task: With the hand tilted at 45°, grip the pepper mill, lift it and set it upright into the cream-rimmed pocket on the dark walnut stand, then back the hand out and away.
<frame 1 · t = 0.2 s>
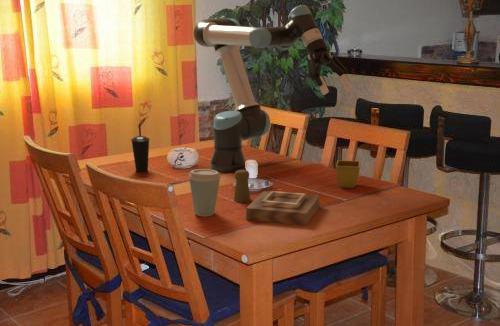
hand: (337, 92, 252), 36 cm above the table, tool tilted 35°, fingers open, 13 cm apart
pepper mill: (242, 200, 241), on the table
flower pot: (347, 186, 257), on the table
drinking cup: (141, 171, 282), on the table
walnut stand: (283, 213, 226), on the table
disposable coffee cup: (205, 214, 226), on the table
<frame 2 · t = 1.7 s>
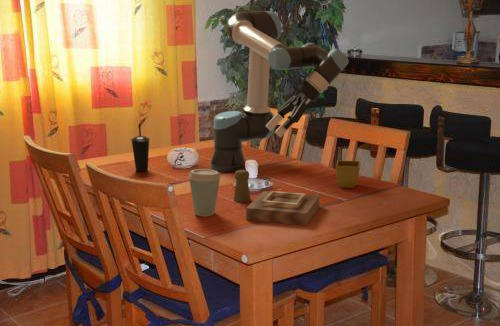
hand: (272, 131, 238), 24 cm above the table, tool tilted 45°, fingers open, 13 cm apart
nothing on the table moved.
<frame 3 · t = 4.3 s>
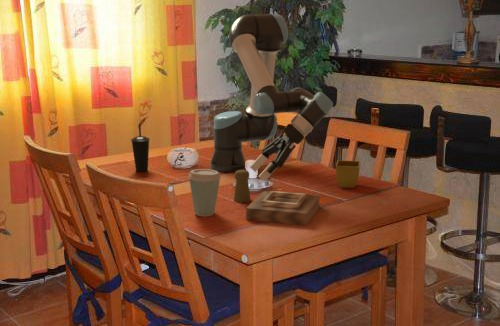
hand: (256, 174, 238), 10 cm above the table, tool tilted 45°, fingers open, 13 cm apart
nothing on the table moved.
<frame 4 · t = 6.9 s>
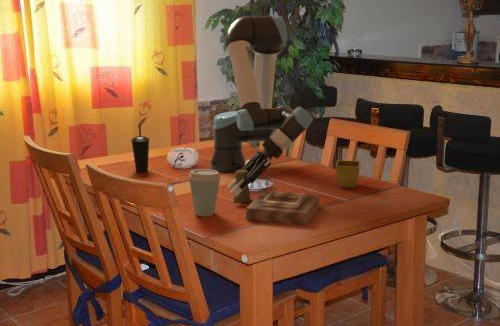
hand: (231, 191, 239), 3 cm above the table, tool tilted 45°, fingers closed on pepper mill, 5 cm apart
pepper mill: (242, 200, 241), on the table, touching gripper
everything else where it was.
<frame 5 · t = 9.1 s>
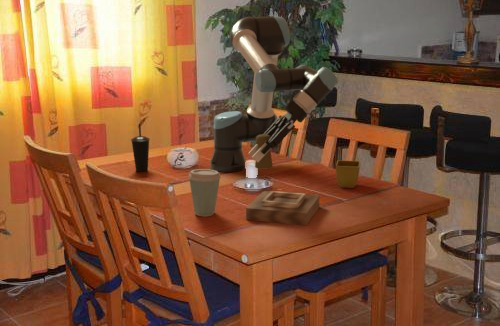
hand: (253, 157, 226), 18 cm above the table, tool tilted 45°, fingers closed on pepper mill, 5 cm apart
pepper mill: (263, 167, 228), point 15 cm above the table, touching gripper
everything else where it was.
when the fingers open (9 cm above the table, at t = 11.4 s): pepper mill drops 1 cm, resting on walnut stand.
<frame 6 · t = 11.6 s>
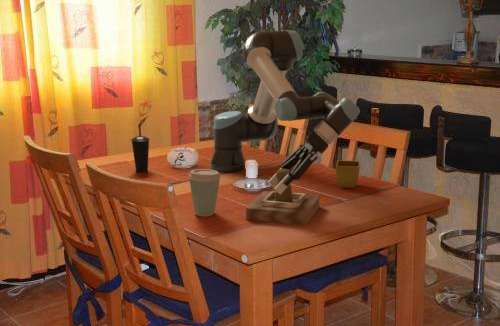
hand: (274, 188, 223), 9 cm above the table, tool tilted 45°, fingers open, 8 cm apart
pepper mill: (283, 201, 226), point 4 cm above the table, touching walnut stand
everything else where it was.
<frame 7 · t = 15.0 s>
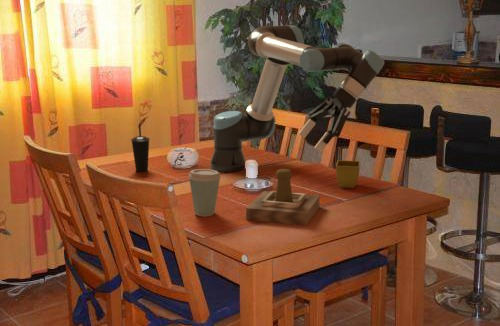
hand: (308, 142, 228), 22 cm above the table, tool tilted 40°, fingers open, 13 cm apart
nothing on the table moved.
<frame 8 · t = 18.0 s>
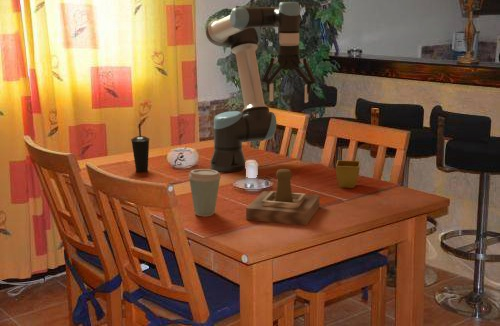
hand: (288, 101, 255), 32 cm above the table, tool pointing down, fingers open, 13 cm apart
nothing on the table moved.
at the end: pepper mill 0.1 cm off-centre on the walnut stand, point 3.8 cm above the walnut stand's base; pepper mill tilted 0°; the gripper is holding nothing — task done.
